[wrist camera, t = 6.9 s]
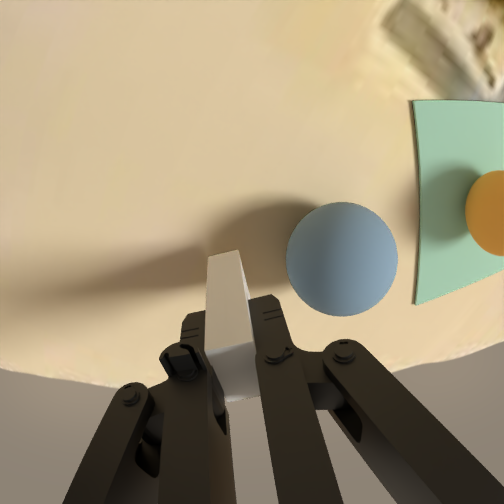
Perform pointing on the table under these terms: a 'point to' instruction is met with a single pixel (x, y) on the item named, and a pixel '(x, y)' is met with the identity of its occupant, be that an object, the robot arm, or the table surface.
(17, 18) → the table surface
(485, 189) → the orange ball
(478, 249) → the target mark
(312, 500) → the robot arm
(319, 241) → the blue ball
